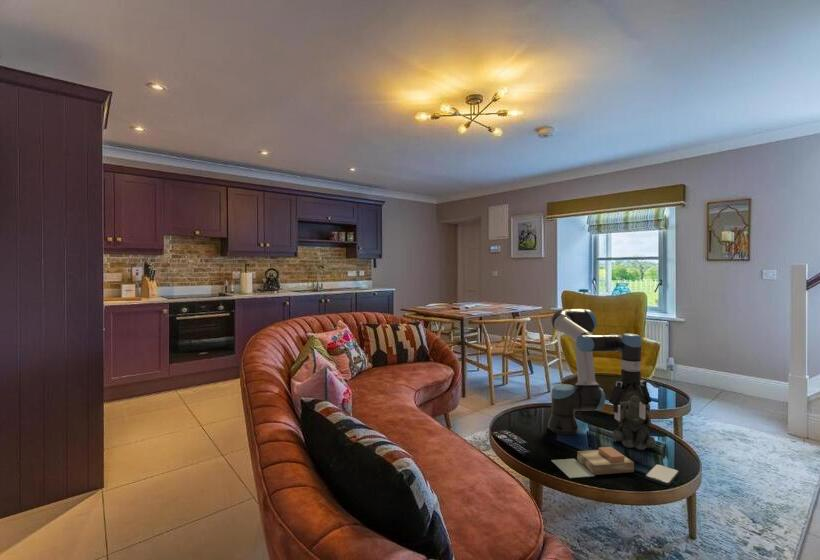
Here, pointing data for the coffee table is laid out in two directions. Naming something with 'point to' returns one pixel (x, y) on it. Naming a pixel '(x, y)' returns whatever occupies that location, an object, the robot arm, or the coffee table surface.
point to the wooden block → (603, 463)
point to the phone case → (662, 475)
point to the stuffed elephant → (633, 426)
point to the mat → (572, 468)
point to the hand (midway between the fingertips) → (629, 419)
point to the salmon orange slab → (611, 454)
